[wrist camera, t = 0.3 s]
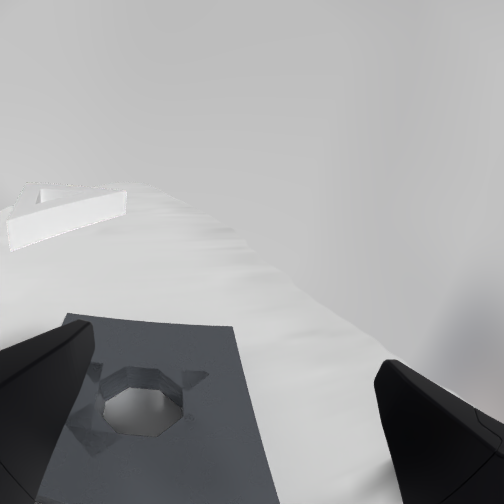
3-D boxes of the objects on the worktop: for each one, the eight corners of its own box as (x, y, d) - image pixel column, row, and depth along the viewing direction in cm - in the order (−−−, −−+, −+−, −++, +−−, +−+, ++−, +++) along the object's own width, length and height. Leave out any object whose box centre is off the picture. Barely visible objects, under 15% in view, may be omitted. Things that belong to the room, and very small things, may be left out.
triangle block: (125, 216, 64) (126, 190, 62) (77, 268, 41) (74, 230, 38) (27, 205, 60) (27, 182, 57) (-35, 244, 36) (-40, 214, 34)
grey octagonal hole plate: (270, 518, 14) (281, 509, 13) (28, 498, 10) (10, 484, 9) (228, 346, 32) (232, 326, 31) (72, 334, 27) (67, 312, 26)
